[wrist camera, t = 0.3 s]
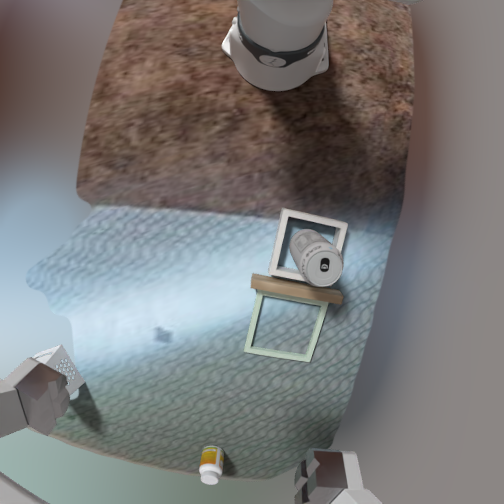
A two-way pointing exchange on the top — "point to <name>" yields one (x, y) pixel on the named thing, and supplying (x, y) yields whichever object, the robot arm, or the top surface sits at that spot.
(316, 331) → the socket
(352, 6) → the top surface
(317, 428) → the top surface
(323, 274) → the energy drink can
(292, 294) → the rail
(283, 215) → the socket
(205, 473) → the supplement bottle
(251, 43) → the robot arm
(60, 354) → the grater
